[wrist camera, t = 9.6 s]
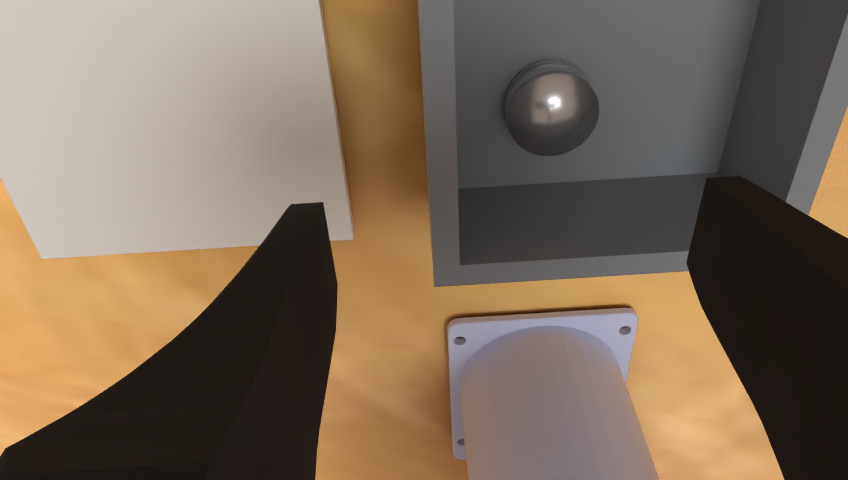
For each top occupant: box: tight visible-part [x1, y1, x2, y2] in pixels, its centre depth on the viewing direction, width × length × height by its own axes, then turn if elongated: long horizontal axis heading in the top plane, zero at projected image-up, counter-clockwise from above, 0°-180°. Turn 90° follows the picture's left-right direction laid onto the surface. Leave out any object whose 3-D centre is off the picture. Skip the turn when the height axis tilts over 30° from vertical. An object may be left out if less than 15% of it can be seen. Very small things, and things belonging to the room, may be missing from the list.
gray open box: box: [417, 0, 848, 287], centre depth 19 cm, size 14×11×5 cm
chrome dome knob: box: [504, 58, 599, 156], centre depth 21 cm, size 3×3×1 cm
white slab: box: [0, 0, 354, 259], centre depth 19 cm, size 18×11×4 cm, turn 3°
